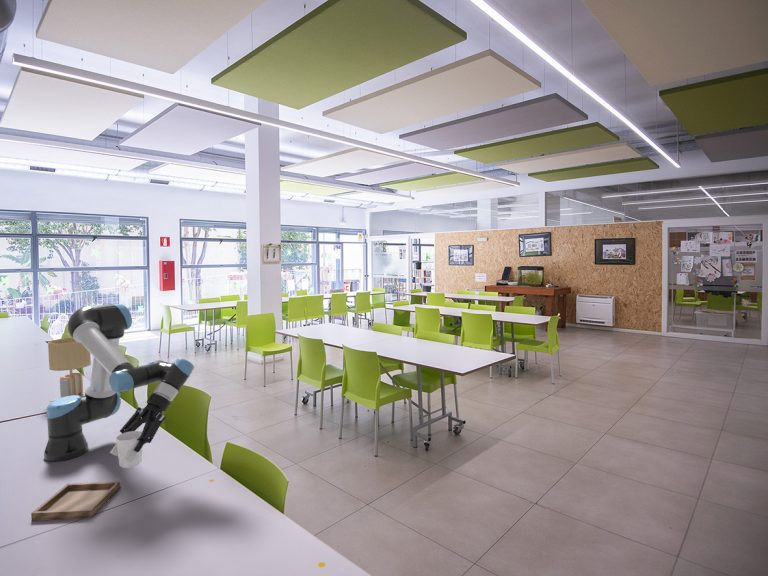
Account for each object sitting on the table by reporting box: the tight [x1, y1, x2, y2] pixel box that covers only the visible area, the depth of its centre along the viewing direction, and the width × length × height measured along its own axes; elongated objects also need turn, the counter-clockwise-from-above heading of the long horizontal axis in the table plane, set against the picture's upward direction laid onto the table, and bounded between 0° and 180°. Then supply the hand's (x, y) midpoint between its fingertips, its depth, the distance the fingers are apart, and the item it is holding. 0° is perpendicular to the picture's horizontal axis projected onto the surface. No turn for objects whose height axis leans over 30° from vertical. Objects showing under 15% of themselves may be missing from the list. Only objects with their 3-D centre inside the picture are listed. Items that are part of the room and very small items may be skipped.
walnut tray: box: [30, 480, 121, 522], centre depth 147 cm, size 18×18×2 cm
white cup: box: [115, 430, 143, 469], centre depth 151 cm, size 8×8×10 cm
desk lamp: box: [47, 337, 92, 403], centre depth 251 cm, size 20×20×35 cm
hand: (120, 457), depth 148 cm, fingers closed on white cup, 8 cm apart
